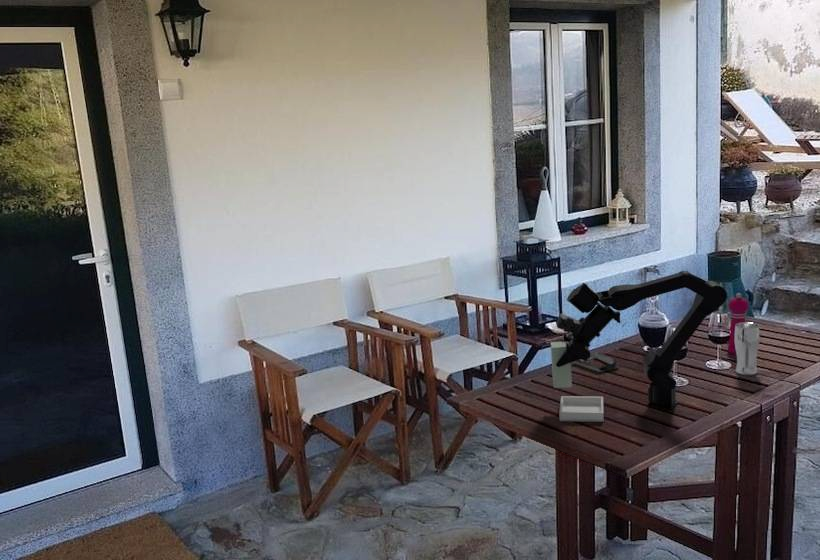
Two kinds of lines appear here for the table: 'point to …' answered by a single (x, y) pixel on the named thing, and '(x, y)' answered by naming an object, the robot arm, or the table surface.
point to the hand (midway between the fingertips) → (556, 362)
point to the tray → (581, 408)
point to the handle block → (562, 373)
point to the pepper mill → (736, 317)
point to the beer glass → (746, 347)
